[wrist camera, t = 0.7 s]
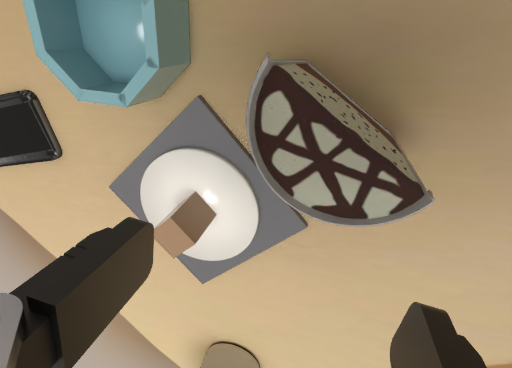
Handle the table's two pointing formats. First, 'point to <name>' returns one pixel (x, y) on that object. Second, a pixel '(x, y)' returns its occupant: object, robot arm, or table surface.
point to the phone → (25, 131)
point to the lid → (199, 204)
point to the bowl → (112, 46)
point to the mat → (225, 144)
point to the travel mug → (228, 357)
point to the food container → (327, 150)
